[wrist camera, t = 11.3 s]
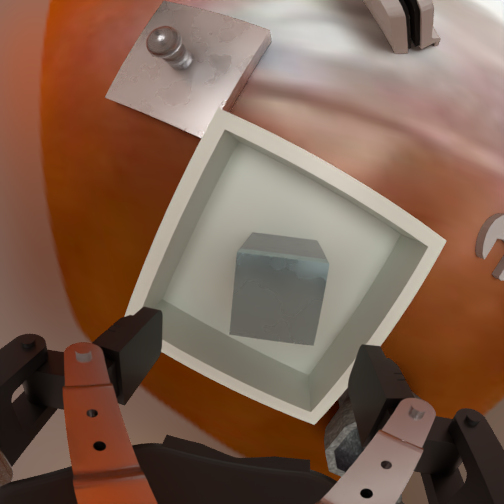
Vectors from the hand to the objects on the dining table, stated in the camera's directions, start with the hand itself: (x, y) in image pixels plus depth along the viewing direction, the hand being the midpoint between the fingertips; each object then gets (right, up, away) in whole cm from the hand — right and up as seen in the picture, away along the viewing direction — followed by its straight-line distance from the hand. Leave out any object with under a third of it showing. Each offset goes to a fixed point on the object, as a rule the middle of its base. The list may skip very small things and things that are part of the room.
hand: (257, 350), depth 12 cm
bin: (+2, +3, +12) cm, 13 cm away
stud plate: (-5, +19, +10) cm, 22 cm away
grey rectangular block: (+2, +3, +11) cm, 12 cm away
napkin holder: (+10, +28, +7) cm, 30 cm away
